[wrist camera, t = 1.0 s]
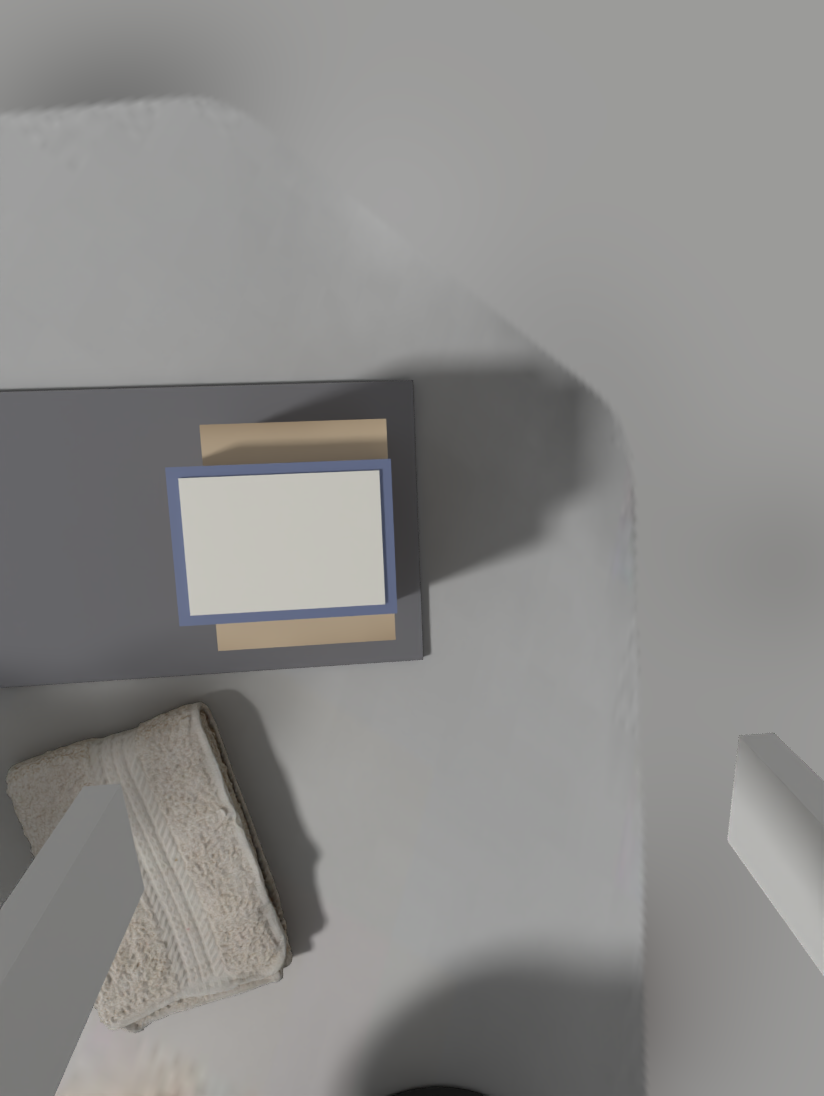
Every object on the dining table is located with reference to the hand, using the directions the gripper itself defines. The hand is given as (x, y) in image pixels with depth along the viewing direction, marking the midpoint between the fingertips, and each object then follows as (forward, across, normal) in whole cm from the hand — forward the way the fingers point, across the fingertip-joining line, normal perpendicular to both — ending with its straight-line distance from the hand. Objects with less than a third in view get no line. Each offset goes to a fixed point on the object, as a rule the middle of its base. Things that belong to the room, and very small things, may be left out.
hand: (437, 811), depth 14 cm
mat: (+24, +11, 0) cm, 26 cm away
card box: (+16, +5, -2) cm, 17 cm away
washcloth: (+21, +16, +19) cm, 32 cm away
